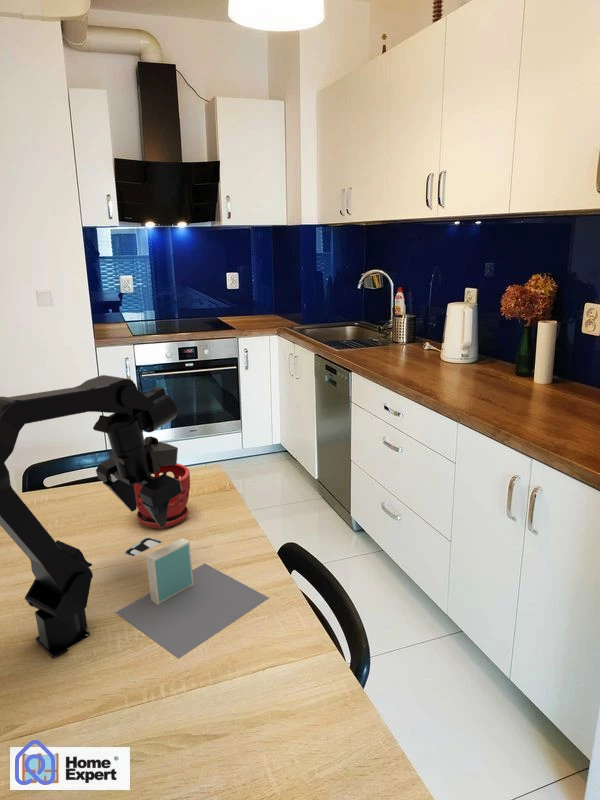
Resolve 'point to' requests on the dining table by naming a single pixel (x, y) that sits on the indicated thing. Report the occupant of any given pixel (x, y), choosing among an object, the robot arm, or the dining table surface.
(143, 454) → the robot arm
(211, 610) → the mat
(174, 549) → the tile
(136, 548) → the smartphone
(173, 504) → the plant pot
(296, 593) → the dining table surface
